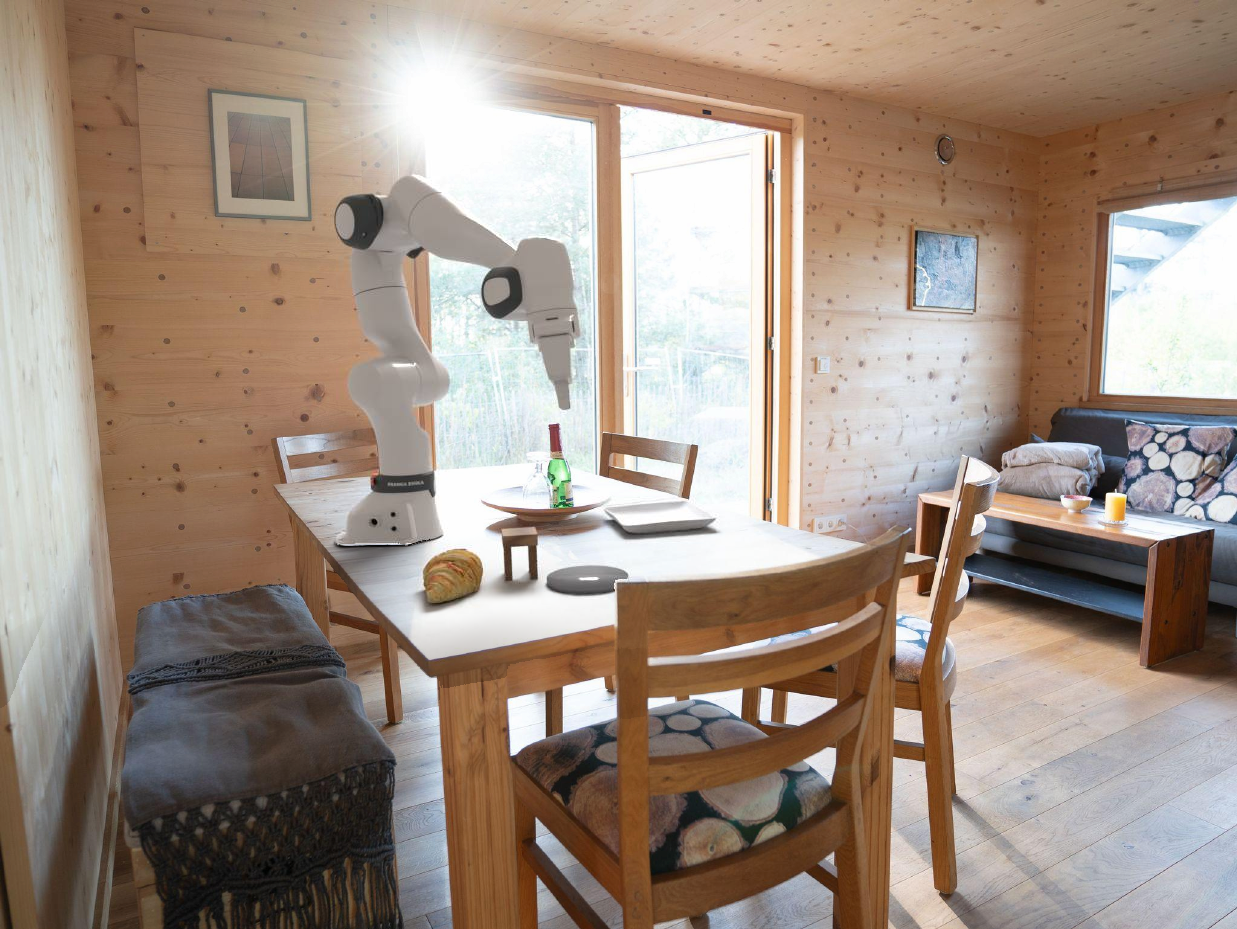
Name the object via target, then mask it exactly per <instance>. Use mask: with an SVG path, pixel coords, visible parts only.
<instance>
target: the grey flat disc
mask: <svg viewBox="0 0 1237 929" xmlns="http://www.w3.org/2000/svg"><path fill="white" fill-rule="evenodd" d="M627 578H628V579H629V573H628V572H627V571H626V570H624V569H621V568H618V567H613V566H610V565H609V566H608V565H593V564H592V565H574V566H568V567H563V568H560V569H556V570H554V571H552V572H550V573H548V575H546V586H547V587H548V588H550V589H551V590H553V591H556V592H560V593H565V594H572V595H573V594H577V595H591V594H603V593H607V592H608V593H609V592H612V591H615V589H614V583H615V580H618V579H627Z"/></svg>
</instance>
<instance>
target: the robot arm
mask: <svg viewBox="0 0 1237 929" xmlns="http://www.w3.org/2000/svg"><path fill="white" fill-rule="evenodd" d="M333 219H334V220H333V221H334V227H335V230H336V231H335V232H336V235H337V236H338V238H339V240H340V241H341V243H343V244H344V245H345V246H348V247H349V248H353V249H352V250H351V252H350V253H349V254H350V256H349V269H350V271H349V272H350V283H351V289H352V294H353V298H354V302H355V307H356V311H357V316H358V321H359V324H360V329H361V332H362V334H363V335H364V337H365V338H366V339H367V340H369V341H370V342H372V343H373V345H374V346H375V347H377V349H378V351H379V352H380V354H381V355H382V357H374V358H370V359H367V360H364V361H361V362H359V363H356V364H355V365H354V366H353V367H352V368H351V369H350V371H349V373H348V376H347V391H348V394H349V396H350V398H351V400H352V401H353V403H354V404H355V405H357V406H358V407H359V408H360V409H362V411H363V412H364V413H365V415H366V416H367V418H368V420H369V422H370V423H371V427H372V429H373V432H374V435H375V439H376V444H377V453H378V465H379V473H375V472H374V473H373V474H371V476H370V478H369V480H370V490H371V492H370V493H369V494H367V495H366V496H365V497H364V498H363V499H361V500H360V501H359V502H358V503H357V504H356V505H355V506H353V507H352V508H351V509H350V511H349V512H348V514H347V517H346V522H345V523H346V524H345V530H344V531H342V532H340V533H338V534H337V535H336V536H335V543H336V542H337V543H340V544H355V543H398V544H399V543H400V544H406V543H414V542H418V541H421V540H426V541H428V540H429V539H430V540H433V539H434V540H435V539H437V538H439V537H440V536H442V535H443V534H444V531H443V528H442V524H441V522H440V519H439V513H438V510H437V508H438V507H437V504H436V495H437V494H436V493H437V484H436V476H435V471H434V470H433V460H432V459H433V458H432V442H431V436H430V434H429V433H428V432H427V430H425V429H424V428H422V427H421V425H420V424H419V423H418V420H417V418H416V416H415V413H414V408H417V407H418V408H420V407H427V406H430V405H431V404H434V403H436V402H438V401H440V400H442V399H444V398H445V396H447V394H448V391H449V390H450V383H451V382H450V381H451V379H450V374H449V371H448V370H447V368H446V366H445V365H444V364H443V363H442V362H441V361H440V360H438V359H437V358H436V357H435V356H434V354H432V352H431V351H430V350H429V348H428V345H427V344H426V343H425V341H424V339H423V337H422V335H421V334H420V331H419V329H418V327H417V324H416V319H415V318H414V314H413V309H412V305H411V300H410V297H409V293H408V288H407V283H406V279H405V276H404V273H403V261H404V259H405V257H406V256H407V257H408V258H410V259H413V260H414V259H416V258H418V256H420V254H421V253H423V252H424V251H427V252H428V253H429V254H432V255H434V256H435V257H438V258H440V259H444V260H447V261H453V262H454V261H455V262H460V263H465V264H471V265H476V266H480V267H484V268H487V269H489V271H488V272H487V273H486V275H485V276H484V278H483V279H482V280H483V281H482V283H481V286H480V288H481V289H480V293H481V294H480V296H481V301H482V304H483V307H484V309H485V311H486V312H487V313H488V314H489V316H491V317H492V318H494V319H498V320H501V321H510V322H511V321H513V322H514V321H515V322H527V328H528V336H529V342H530V344H537V347H538V352H540V353H541V356H542V360H543V364H544V367H545V371H546V375H547V377H548V380H549V381H550V382H551V384H552V385H553V386H554V389H555V393H556V397H557V403H558V408H559V409H561V410H562V411H568V410H570V409H571V407H572V406H571V401H570V387H569V386H570V385H571V384H573V376H572V369H571V366H572V365H571V359H572V358H571V349H574V348H575V347H576V345H575V339H578V338H580V337H581V335H582V334H581V328H580V322H579V315H578V307H577V304H576V302H575V298H574V287H575V286H574V284H575V283H574V277H573V271H572V264H571V261H570V260H571V259H570V256H569V253H568V249H567V247H566V245H565V243H564V242H563V241H562V240H561V239H560V238H556V237H551V236H539V235H538V236H535V235H534V236H528V237H525V238H523V239H521V240H520V241H519V242H518V245H515V244H514V243H512V242H511V241H510V240H508V239H507V238H505V236H502V235H501V234H500V233H498V232H497V231H496V230H493V229H492V228H491V227H490V226H488V225H487V224H486V223H484V222H483V221H482V220H480V219H479V218H478V217H477V216H475V215H474V214H473V213H472V212H471V211H470V210H468V209H467V208H465V206H463V205H462V204H461V203H460V201H459V202H458V201H457V200H456V198H454V197H453V196H452V195H451V194H450V193H448V192H447V191H446V190H445V189H443V188H442V187H441V186H439V185H437V184H436V183H435V182H433V181H431V180H429V179H427V178H425V177H423V176H421V175H417V174H409V175H408V174H407V175H404V176H402V177H400V178H398V180H396V181H395V182H394V184H393V185H392V187H391V188H390V191H389V194H386V195H384V194H382V195H381V194H373V193H358V194H353V195H348V196H345V197H344V198H342V199H341V200H340V201H339V202H338V204H337V206H336V209H335V212H334V218H333ZM421 542H422V541H421ZM418 543H419V542H418Z"/></svg>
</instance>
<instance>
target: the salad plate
mask: <svg viewBox="0 0 1237 929" xmlns="http://www.w3.org/2000/svg"><path fill="white" fill-rule="evenodd" d="M603 511H604V512H605V514H606V515H607V516H608V517H610V518H611V519H612V520H614V521H615V522H616V523H618V524H619V525H620V526H621V527H622V528H623V529H624V530H625V532H628V533H631V534H635V533H636V535H638V534H639V535H642V533H644V534H653V533H654V534H656V532H657V533H666V532H665V531H670V532H678V531H677V530H682V531H690V529H693V530H697V528H698V529H701V528H706V527H707V526H709V525H711V524H713V523H714V522H715V521H716V519H717V518H716V516H715V515H713V514H711V513H710V512H709V511H707V510H705V509H703V508H701V507H699V506H698V505H696V504H694V503H693V502H691V501H688V500H677V501H663V502H649V503H638V504H630V505H629V504H627V505H620V506H608V507H603Z"/></svg>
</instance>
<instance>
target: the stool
mask: <svg viewBox="0 0 1237 929" xmlns="http://www.w3.org/2000/svg"><path fill="white" fill-rule="evenodd" d="M500 531H501V541H502V542H501V543H502V547H503V565H504V566H503V567H504V568H503V569H504V577H505V579H504V580H505V582H509V581H513V579H514V578H513V577H514V576H513V560H512V559H513V557H512V555H513V554H512V548H517V547H519V548H520V547H527V555H528V557H527V558H528V573H529V574H530V580H535V579H536V580H538V579H539V575H538V574H539V570H538V568H539V567H538V548H537V547H538V545H539V541H538V538H539V536H538V535H539V534H538V532H537V529H536V526H530V527H529V526H528V527H514V528H513V527H512V528H511V527H509V528H501V529H500Z"/></svg>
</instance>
